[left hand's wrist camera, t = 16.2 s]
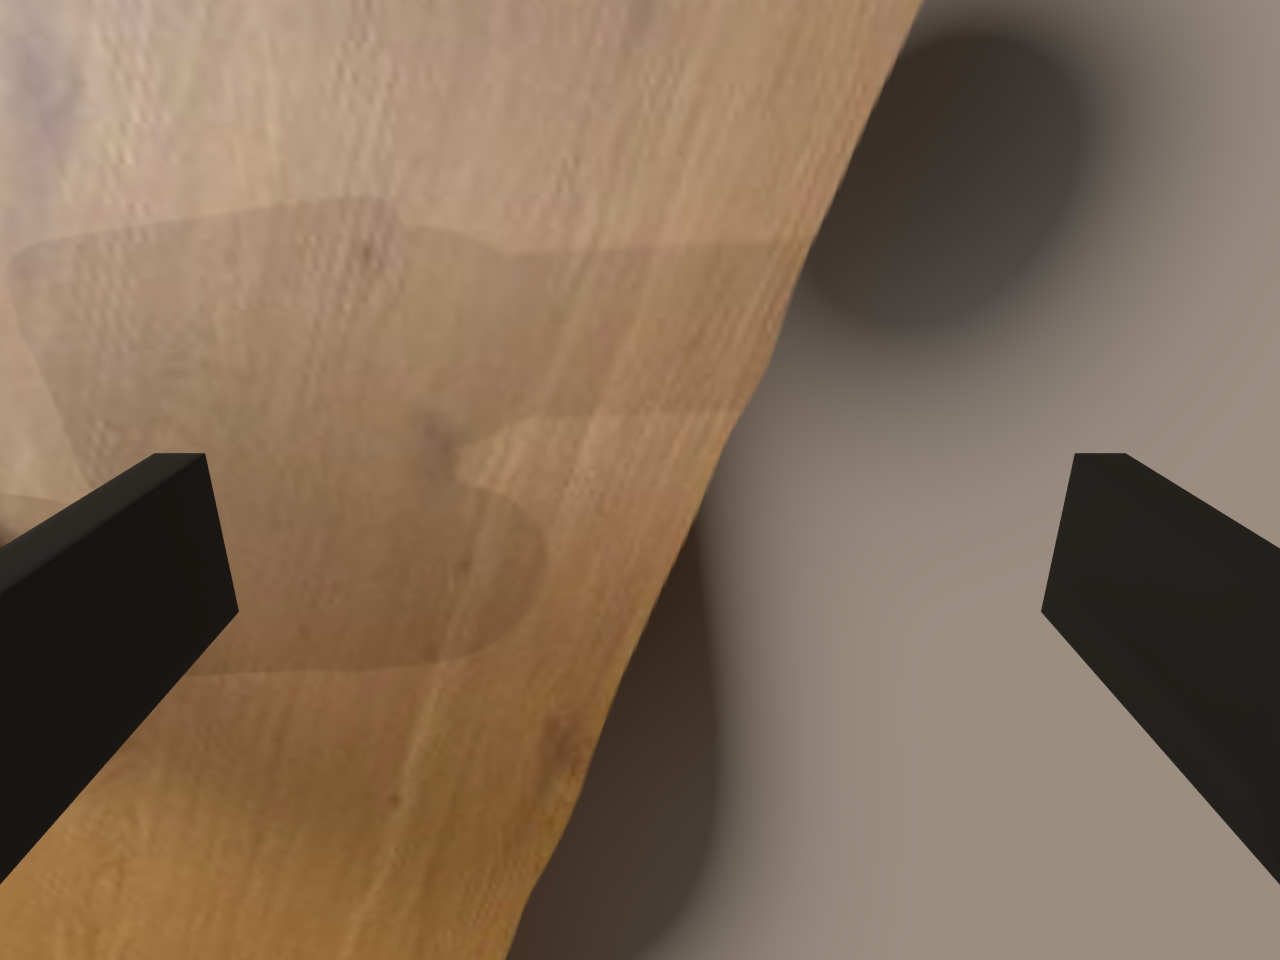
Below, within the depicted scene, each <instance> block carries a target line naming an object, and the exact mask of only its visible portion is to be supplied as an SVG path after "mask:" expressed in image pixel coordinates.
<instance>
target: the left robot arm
mask: <svg viewBox="0 0 1280 960" xmlns="http://www.w3.org/2000/svg"><path fill="white" fill-rule="evenodd" d="M238 612H239V610H238V605H237V600H236V595H235V591H234V586H233V581H232V577H231V572H230V567H229V563H228V558H227V553H226V549H225V544H224V539H223V535H222V530H221V525H220V521H219V516H218V511H217V507H216V502H215V497H214V493H213V488H212V483H211V479H210V474H209V469H208V464H207V460H206V455H205V453H154V454H152V455H151V456H149V457H148V458H146V459H144V460H143V461H141V462H140V463H138V464H136V465H135V466H133V467H131V468H130V469H128V470H127V471H125V472H123V473H122V474H120V475H118V476H117V477H115V478H114V479H112V480H110V481H109V482H107V483H105V484H104V485H102V486H101V487H99V488H97V489H96V490H94V491H93V492H91V493H89V494H88V495H86V496H84V497H83V498H81V499H80V500H78V501H76V502H75V503H73V504H71V505H70V506H68V507H67V508H65V509H63V510H62V511H60V512H59V513H57V514H55V515H54V516H52V517H50V518H49V519H47V520H46V521H44V522H42V523H41V524H39V525H37V526H36V527H34V528H33V529H31V530H29V531H28V532H26V533H25V534H23V535H21V536H20V537H18V538H16V539H15V540H13V541H12V542H10V543H8V544H7V545H5V546H3V547H2V548H0V884H1V883H2V882H3V881H4V880H5V878H6V877H7V876H8V875H9V874H10V873H11V872H12V870H13V869H14V868H15V867H16V866H17V865H18V864H19V862H20V861H21V860H22V859H23V858H24V857H25V856H26V854H27V853H28V852H29V851H30V850H31V849H32V848H33V846H34V845H35V844H36V843H37V842H38V841H39V840H40V838H41V837H42V836H43V835H44V834H45V833H46V832H47V830H48V829H49V828H50V827H51V826H52V825H53V824H54V822H55V821H56V820H57V819H58V818H59V817H60V816H61V814H62V813H63V812H64V811H65V810H66V809H67V808H68V806H69V805H70V804H71V803H72V802H73V801H74V800H75V798H76V797H77V796H78V795H79V794H80V793H81V792H82V790H83V789H84V788H85V787H86V786H87V785H88V784H89V782H90V781H91V780H92V779H93V778H94V777H95V776H96V774H97V773H98V772H99V771H100V770H101V769H102V768H103V766H104V765H105V764H106V763H107V762H108V761H109V760H110V758H111V757H112V756H113V755H114V754H115V753H116V752H117V750H118V749H119V748H120V747H121V746H122V745H123V744H124V742H125V741H126V740H127V739H128V738H129V737H130V736H131V734H132V733H133V732H134V731H135V730H136V729H137V728H138V726H139V725H140V724H141V723H142V722H143V721H144V720H145V718H146V717H147V716H148V715H149V714H150V713H151V712H152V710H153V709H154V708H155V707H156V706H157V705H158V704H159V702H160V701H161V700H162V699H163V698H164V697H165V696H166V694H167V693H168V692H169V691H170V690H171V689H172V688H173V686H174V685H175V684H176V683H177V682H178V681H179V680H180V678H181V677H182V676H183V675H184V674H185V673H186V672H187V670H188V669H189V668H190V667H191V666H192V665H193V664H194V662H195V661H196V660H197V659H198V658H199V657H200V656H201V654H202V653H203V652H204V651H205V650H206V649H207V648H208V646H209V645H210V644H211V643H212V642H213V641H214V640H215V638H216V637H217V636H218V635H219V634H220V633H221V632H222V630H223V629H224V628H225V627H226V626H227V625H228V624H229V622H230V621H231V620H232V619H233V618H234V617H235V616H236V614H237V613H238ZM1041 612H1042V613H1043V614H1044V615H1045V617H1046V618H1047V619H1048V620H1049V621H1050V622H1051V624H1052V625H1053V626H1054V627H1055V628H1056V629H1057V630H1058V632H1059V633H1060V634H1061V635H1062V636H1063V637H1064V638H1065V640H1066V641H1067V642H1068V643H1069V644H1070V645H1071V646H1072V648H1073V649H1074V650H1075V651H1076V652H1077V653H1078V654H1079V656H1080V657H1081V658H1082V659H1083V660H1084V661H1085V662H1086V664H1087V665H1088V666H1089V667H1090V668H1091V669H1092V670H1093V672H1094V673H1095V674H1096V675H1097V676H1098V677H1099V678H1100V680H1101V681H1102V682H1103V683H1104V684H1105V685H1106V686H1107V688H1108V689H1109V690H1110V691H1111V692H1112V693H1113V694H1114V696H1115V697H1116V698H1117V699H1118V700H1119V701H1120V702H1121V704H1122V705H1123V706H1124V707H1125V708H1126V709H1127V710H1128V712H1129V713H1130V714H1131V715H1132V716H1133V717H1134V718H1135V720H1136V721H1137V722H1138V723H1139V724H1140V725H1141V726H1142V728H1143V729H1144V730H1145V731H1146V732H1147V733H1148V734H1149V736H1150V737H1151V738H1152V739H1153V740H1154V741H1155V742H1156V744H1157V745H1158V746H1159V747H1160V748H1161V749H1162V750H1163V752H1164V753H1165V754H1166V755H1167V756H1168V757H1169V758H1170V759H1171V761H1172V762H1173V763H1174V764H1175V765H1176V766H1177V768H1178V769H1179V770H1180V771H1181V772H1182V773H1183V774H1184V776H1185V777H1186V778H1187V779H1188V780H1189V781H1190V782H1191V784H1192V785H1193V786H1194V787H1195V788H1196V789H1197V790H1198V792H1199V793H1200V794H1201V795H1202V796H1203V797H1204V798H1205V800H1206V801H1207V802H1208V803H1209V804H1210V805H1211V806H1212V808H1213V809H1214V810H1215V811H1216V812H1217V813H1218V814H1219V816H1220V817H1221V818H1222V819H1223V820H1224V821H1225V822H1226V824H1227V825H1228V826H1229V827H1230V828H1231V829H1232V830H1233V832H1234V833H1235V834H1236V835H1237V836H1238V837H1239V838H1240V840H1241V841H1242V842H1243V843H1244V844H1245V845H1246V846H1247V848H1248V849H1249V850H1250V851H1251V852H1252V853H1253V854H1254V856H1255V857H1256V858H1257V859H1258V860H1259V861H1260V862H1261V864H1262V865H1263V866H1264V867H1265V868H1266V869H1267V870H1268V872H1269V873H1270V874H1271V875H1272V876H1273V877H1274V878H1275V880H1276V881H1277V882H1278V883H1279V884H1280V548H1278V547H1277V546H1275V545H1273V544H1272V543H1270V542H1268V541H1267V540H1265V539H1264V538H1262V537H1260V536H1259V535H1257V534H1255V533H1254V532H1252V531H1251V530H1249V529H1247V528H1246V527H1244V526H1243V525H1241V524H1239V523H1238V522H1236V521H1234V520H1233V519H1231V518H1230V517H1228V516H1226V515H1225V514H1223V513H1221V512H1220V511H1218V510H1217V509H1215V508H1213V507H1212V506H1210V505H1208V504H1207V503H1205V502H1204V501H1202V500H1200V499H1199V498H1197V497H1196V496H1194V495H1192V494H1191V493H1189V492H1187V491H1186V490H1184V489H1183V488H1181V487H1179V486H1178V485H1176V484H1175V483H1173V482H1171V481H1170V480H1168V479H1166V478H1165V477H1163V476H1162V475H1160V474H1158V473H1157V472H1155V471H1153V470H1152V469H1150V468H1149V467H1147V466H1145V465H1144V464H1142V463H1140V462H1139V461H1137V460H1136V459H1134V458H1132V457H1131V456H1129V455H1128V454H1126V453H1075V455H1074V460H1073V465H1072V469H1071V474H1070V478H1069V483H1068V488H1067V493H1066V497H1065V502H1064V507H1063V511H1062V516H1061V521H1060V525H1059V530H1058V535H1057V539H1056V544H1055V549H1054V553H1053V558H1052V563H1051V567H1050V572H1049V577H1048V581H1047V586H1046V591H1045V595H1044V600H1043V605H1042V610H1041Z"/></svg>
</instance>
